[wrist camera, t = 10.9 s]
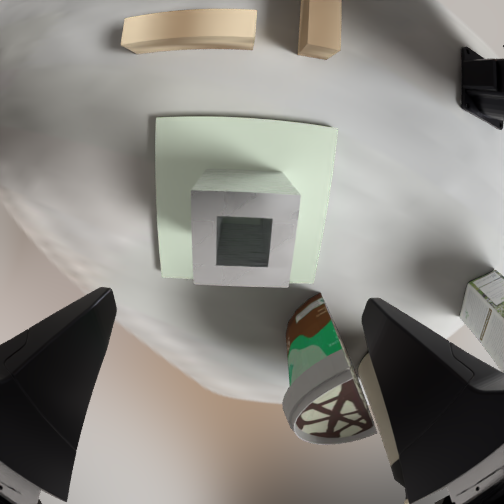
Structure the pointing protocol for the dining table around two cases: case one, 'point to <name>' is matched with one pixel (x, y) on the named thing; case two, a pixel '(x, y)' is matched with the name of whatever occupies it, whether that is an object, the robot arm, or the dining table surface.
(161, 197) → the board
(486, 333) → the syrup box
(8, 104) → the dining table surface
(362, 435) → the food container
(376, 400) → the travel mug
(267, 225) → the steel collar
